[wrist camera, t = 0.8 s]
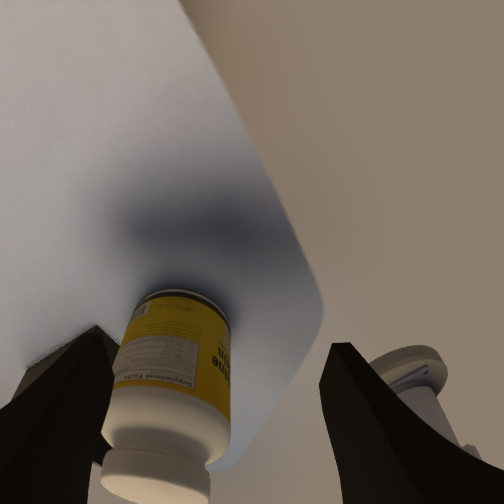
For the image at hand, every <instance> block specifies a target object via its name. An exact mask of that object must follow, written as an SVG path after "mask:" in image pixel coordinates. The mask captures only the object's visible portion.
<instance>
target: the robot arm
mask: <svg viewBox="0 0 504 504" xmlns="http://www.w3.org/2000/svg"><path fill="white" fill-rule="evenodd" d="M114 380H115V375H114V372H113V369H112V367H111V364H110V361H109V358H108V355H107V351H106V348H105V345H104V342H103V339H102V335H101V334H93V333H86V332H85V333H84V334H83V335H81V336H80V337H79V338H78V339H77V340H76V341H75V342H74V343H73V344H72V345H71V346H70V347H69V348H68V349H67V350H66V351H65V352H64V353H63V354H62V355H61V356H60V357H59V358H58V359H57V360H56V361H55V362H54V363H53V364H52V365H51V366H50V367H49V368H48V369H47V370H45V371H44V372H43V373H42V374H41V375H40V376H39V377H38V378H37V379H36V380H35V381H34V382H32V383H31V384H30V385H29V386H28V387H27V388H26V389H25V390H24V391H23V392H21V393H20V394H19V395H18V396H17V397H16V398H14V399H13V400H12V401H11V402H9V403H8V404H7V405H5V406H4V407H3V408H2V409H0V504H87V500H88V489H89V481H90V473H91V467H92V462H93V458H94V454H95V451H96V447H97V444H98V441H99V437H100V434H101V431H102V428H103V424H104V421H105V418H106V415H107V412H108V408H109V405H110V401H111V396H112V391H113V385H114ZM319 389H320V397H321V404H322V411H323V415H324V419H325V423H326V426H327V430H328V433H329V437H330V441H331V445H332V448H333V452H334V456H335V459H336V463H337V467H338V472H339V476H340V483H341V491H342V498H343V504H504V470H501V469H499V468H497V467H494V466H492V465H490V464H488V463H486V462H484V461H482V459H481V457H480V455H479V453H478V451H477V449H476V447H475V446H473V445H471V446H470V445H469V444H467V445H465V446H464V447H463V448H462V447H461V446H460V444H459V443H458V441H457V439H456V437H455V434H454V432H453V430H452V428H451V426H450V424H449V422H448V420H447V418H446V416H445V414H444V412H443V410H442V408H441V406H440V404H439V402H438V400H437V398H436V394H435V389H434V385H433V381H432V377H431V372H430V369H429V366H428V365H427V364H425V365H423V366H421V367H419V368H418V369H416V370H414V371H412V372H411V373H409V374H407V375H405V376H403V377H402V378H400V379H398V380H396V381H394V382H392V383H391V384H389V385H387V384H386V383H385V382H384V381H383V380H382V379H381V378H380V376H379V375H378V374H377V373H376V372H375V371H374V370H373V368H372V367H371V366H370V365H369V364H368V363H367V362H366V360H365V359H364V358H363V357H362V356H361V354H360V353H359V352H358V351H357V350H356V349H355V348H354V346H353V345H352V344H351V343H350V342H346V343H332V345H331V348H330V351H329V355H328V358H327V361H326V364H325V367H324V370H323V373H322V376H321V379H320V382H319Z"/></svg>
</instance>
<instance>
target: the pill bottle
mask: <svg viewBox="0 0 504 504" xmlns="http://www.w3.org/2000/svg"><path fill="white" fill-rule="evenodd" d="M230 345H231V335H230V327H229V323H228V321H227V318H226V317H225V315H224V313H223V312H222V311H221V309H220V308H219V307H218V306H217V305H216V304H215V303H213V302H212V301H211V300H209V299H208V298H206V297H204V296H202V295H200V294H198V293H195V292H191V291H187V290H180V289H169V290H162V291H158V292H156V293H153V294H151V295H149V296H147V297H146V298H145V299H143V300H142V301H141V302H140V303H139V304H138V306H137V307H136V308H135V310H134V312H133V314H132V316H131V319H130V322H129V324H128V327H127V330H126V332H125V335H124V337H123V340H122V342H121V345H120V348H119V350H118V353H117V356H116V358H115V361H114V364H113V366H112V369H113V372H114V375H115V380H114V385H113V391H112V396H111V401H110V405H109V408H108V412H107V415H106V418H105V421H104V424H103V428H102V431H101V433H102V435H103V437H104V438H105V440H106V441H107V442H108V443H109V444H110V445H111V446H112V447H113V449H111V450H109V451H108V452H107V453H106V455H105V457H104V459H103V465H102V471H101V476H100V482H101V484H102V485H103V486H104V487H105V488H106V489H107V490H109V491H110V492H112V493H113V494H115V495H117V496H119V497H122V498H124V499H127V500H129V501H132V502H135V503H139V504H208V503H209V501H210V482H211V480H210V475H209V472H208V471H207V470H206V469H205V466H206V465H208V464H210V463H212V462H214V461H216V460H217V459H219V458H220V457H221V456H222V455H223V454H224V452H225V451H226V449H227V448H228V445H229V442H230V434H231V424H230Z"/></svg>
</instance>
